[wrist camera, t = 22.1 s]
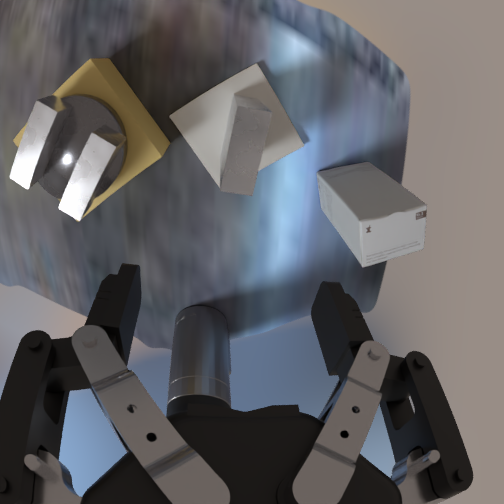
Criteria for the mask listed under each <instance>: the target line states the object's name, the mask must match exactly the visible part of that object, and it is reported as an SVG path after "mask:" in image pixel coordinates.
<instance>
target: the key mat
mask: <svg viewBox="0 0 504 504" xmlns="http://www.w3.org/2000/svg"><path fill="white" fill-rule="evenodd" d="M233 94H236V95H241V96H247V97H252V98H257V99H259V100H260V101H261V102H262V103H263V104H264V105H265V106H266V107H267V108H268V109H270V110H271V111H272V112H273V113H272V117H271V121H270V125H269V129H268V133H267V137H266V141H265V145H264V149H263V153H262V157H261V162H260V166H259V170H261V169H263V168H265V167H266V166H268V165H270V164H272V163H274V162H275V161H277V160H279V159H281V158H283V157H285V156H286V155H288V154H290V153H292V152H294V151H296V150H298V149H299V148H301V147H303V146H304V144H303V142H302V141H301V139H300V137H299V135H298V133H297V131H296V129H295V128H294V126H293V124H292V122H291V120H290V119H289V117H288V115H287V113H286V112H285V110H284V108H283V106H282V105H281V103H280V101H279V99H278V98H277V96H276V94H275V93H274V91H273V89H272V87H271V86H270V84H269V82H268V81H267V79H266V77H265V76H264V74H263V73H262V71H261V69H260V68H259V66H258V65H257V63H256V64H254V65H252V66H250V67H248V68H247V69H245V70H243V71H241V72H239V73H237V74H236V75H234V76H232V77H230V78H229V79H227V80H225V81H223V82H222V83H220V84H218V85H217V86H215V87H213V88H212V89H210V90H208V91H207V92H205V93H203V94H202V95H200V96H199V97H197V98H195V99H194V100H192V101H191V102H189V103H188V104H186V105H185V106H183V107H182V108H180V109H179V110H177V111H176V112H174V113H173V114H171V115H170V116H169V117H170V118H171V120H172V121H173V122H174V124H175V125H176V127H177V128H178V130H179V131H180V132H181V134H182V135H183V137H184V138H185V139H186V141H187V142H188V144H189V145H190V146H191V148H192V149H193V151H194V152H195V153H196V155H197V156H198V158H199V159H200V161H201V162H202V163H203V165H204V166H205V168H206V169H207V170H208V172H209V173H210V175H211V176H212V178H213V179H214V180H215V182H216V183H217V185H218V186H219V188H220V155H221V150H222V145H223V140H224V135H225V130H226V126H227V121H228V116H229V111H230V107H231V102H232V98H233ZM259 170H258V171H259ZM222 192H223V191H222Z"/></svg>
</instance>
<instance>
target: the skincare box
mask: <svg viewBox="0 0 504 504" xmlns="http://www.w3.org/2000/svg"><path fill="white" fill-rule="evenodd" d="M317 181H318V188H319V196H320V203H321V209H322V211H323V212H324V213H325V215H326V216H327V217H328V219H329V220H330V222H331V223H332V224H333V226H334V227H335V228H336V230H337V231H338V233H339V234H340V235H341V237H342V238H343V240H344V241H345V243H346V244H347V245H348V247H349V248H350V250H351V251H352V252H353V254H354V255H355V257H356V258H357V260H358V261H359V263H360V264H361V266H362V267H366V266H370V265H373V264H377V263H380V262H383V261H386V260H389V259H393V258H396V257H400V256H403V255H406V254H410V253H413V252H416V251H419V250H423V249H424V240H425V228H426V211H427V205H426V204H425V203H424V202H423V201H421V200H420V199H419V198H418V197H416V196H415V195H414V194H412V193H411V192H410V191H408V190H407V189H406V188H404V187H403V186H402V185H400V184H399V183H398V182H396V181H395V180H393V179H392V178H391V177H389V176H388V175H387V174H385V173H384V172H382V171H381V170H379V169H378V168H377V167H375V166H374V165H372V164H371V163H369V162H363V163H358V164H352V165H347V166H342V167H337V168H333V169H329V170H324V171H318V172H317Z"/></svg>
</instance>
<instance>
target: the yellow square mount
mask: <svg viewBox="0 0 504 504" xmlns="http://www.w3.org/2000/svg"><path fill="white" fill-rule="evenodd" d="M74 94H88V95H93V96H96V97H98V98H100V99H102V100H104V101H105V102H107V103H108V104H109V105H110V106H111V107H113V109H114V110H115V111H116V112H117V113H118V115H119V117H120V118H121V120H122V122H123V125H124V127H125V131H126V135H127V145H128V147H127V156H126V160H125V164H124V166H123V169H122V171H121V173H120V174H119V176H118V177H117V178H116V180H115V181H114V182H113V184H112V185H111V186H110V187H109V188H108V189H107V190H106V191H105V192H104V193H103V194H102V195H100V196H99V197H97V198H95V199H94V201H93V203H92V205H91V207H90V208H89V209H88V211H87V212H86V213H85V215H87V214H88V213H89V212H90V211H91V210H93V209H94V208H95V207H96V206H98V205H99V204H100V203H101V202H102V201H104V200H105V199H106V198H107V197H109V196H110V195H111V194H112V193H114V192H115V191H116V190H118V189H119V188H120V187H121V186H123V185H124V184H125V183H127V182H128V181H129V180H131V179H132V178H133V177H135V176H136V175H137V174H139V173H140V172H141V171H143V170H144V169H146V168H147V167H148V166H150V165H151V164H153V163H154V162H155V161H157V160H158V159H160V158H161V157H162V156H163V154H164V153H165V151H166V149H167V148H168V146H169V145H170V142H169V140H168V139H167V137H166V136H165V135H164V133H163V132H162V131H161V129H160V128H159V126H158V125H157V124H156V122H155V121H154V120H153V118H152V117H151V115H150V114H149V113H148V111H147V110H146V109H145V107H144V106H143V104H142V103H141V102H140V100H139V99H138V98H137V96H136V95H135V93H134V92H133V91H132V89H131V88H130V87H129V85H128V84H127V82H126V81H125V80H124V78H123V77H122V75H121V74H120V73H119V71H118V70H117V69H116V67H115V66H114V64H113V63H112V62H111V60H110V59H109V58H100V59H90V60H88V61H87V62H86V63H85V64H84V65H83V66H82V67H81V68H79V69H78V70H77V71H76V72H75V73H74V74H73V75H72V76H71V77H70V78H69V79H68V80H67V81H66V82H65V83H64V84H63V85H62V86H61V87H60V88H59V89H58V90H57V91H56V92H55V93H54V94H53V95H55V96H57V97H59V98H63V97H66V96H70V95H74ZM26 126H27V124H26V125H25V126H24V127H23V129H22V130H21V131H20V132H19V133H18V135H17V136H16V137H15V139H14V140H13V141H14V142H15V144H16V145H17V146H18V148H19V145H20V142H21V139H22V137H23V134H24V131H25V128H26ZM59 200H60V202H61V199H59ZM85 215H84V216H85ZM84 216H83V217H84ZM83 217H82V218H83ZM76 220H77V219H76ZM78 221H79V220H77V222H78Z"/></svg>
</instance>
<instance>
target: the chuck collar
mask: <svg viewBox="0 0 504 504" xmlns="http://www.w3.org/2000/svg"><path fill="white" fill-rule="evenodd" d="M127 147H128V145H127V135H126V131H125V127H124V125H123V122H122V120H121V118H120V117H119V115H118V113H117V112H116V111H115V110H114V109H113V107H111V106H110V105H109V104H108V103H107V102H105V101H104V100H102V99H100V98H98V97H96V96H93V95H88V94H74V95H70V96H66V97H63V98H59V97H57V96H55V95H52V96H48V97H45V98H42V99H39V100H37V101H36V103H35V106H34V108H33V110H32V113H31V115H30V118H29V120H28V123H27V126H26V128H25V131H24V134H23V137H22V139H21V142H20V145H19V148H18V151H17V154H16V158H15V161H14V164H13V168H12V171H11V175H10V178H11V179H13V180H14V181H16V182H17V183H19V184H20V185H22V186H23V187H25V188H27V189H29V188H30V187H31V186H33V185H34V184H35V183H36V182H37V181H38V182H39V184H40V185H41V186H42V187H43V188H44V189H45V190H46V191H47V192H48V193H50V194H51V195H53V196H54V197H56V198H58V199H61V202H60V205H59V209H60V210H62V211H64V212H65V213H67V214H69V215H70V216H72V217H74V218H75V219H77V220H79V221H80V220H81V219H82V217H83V216H84V215H85V213H86V212H87V211H88V209H89V208H90V207H91V205H92V203H93V201H94V199H95V198H97V197H99V196H100V195H102V194H103V193H104V192H105V191H106V190H107V189H108V188H109V187H110V186H111V185H112V184H113V182H114V181H115V180H116V178H117V177H118V176H119V174H120V173H121V171H122V169H123V166H124V164H125V160H126V156H127Z"/></svg>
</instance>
